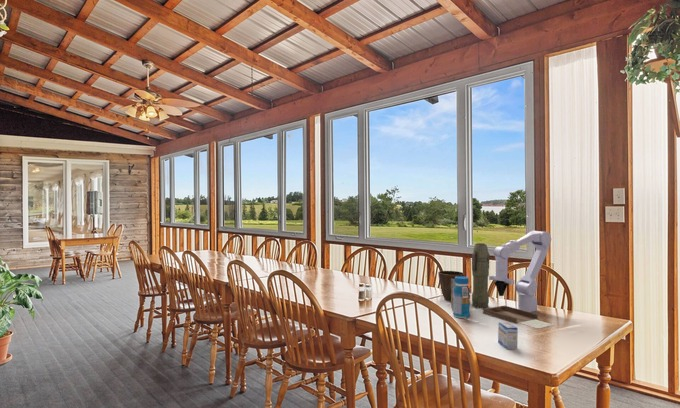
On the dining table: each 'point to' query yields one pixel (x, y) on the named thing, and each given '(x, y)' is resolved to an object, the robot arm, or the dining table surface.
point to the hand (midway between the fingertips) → (501, 295)
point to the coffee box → (452, 291)
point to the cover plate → (536, 323)
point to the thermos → (480, 276)
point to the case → (510, 314)
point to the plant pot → (447, 282)
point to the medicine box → (507, 335)
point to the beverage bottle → (461, 297)
